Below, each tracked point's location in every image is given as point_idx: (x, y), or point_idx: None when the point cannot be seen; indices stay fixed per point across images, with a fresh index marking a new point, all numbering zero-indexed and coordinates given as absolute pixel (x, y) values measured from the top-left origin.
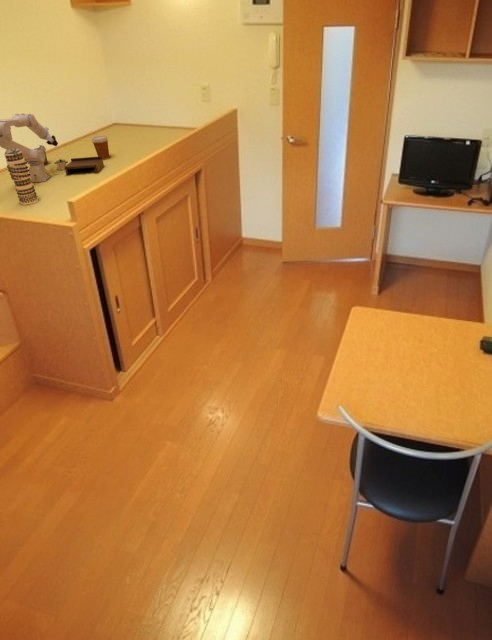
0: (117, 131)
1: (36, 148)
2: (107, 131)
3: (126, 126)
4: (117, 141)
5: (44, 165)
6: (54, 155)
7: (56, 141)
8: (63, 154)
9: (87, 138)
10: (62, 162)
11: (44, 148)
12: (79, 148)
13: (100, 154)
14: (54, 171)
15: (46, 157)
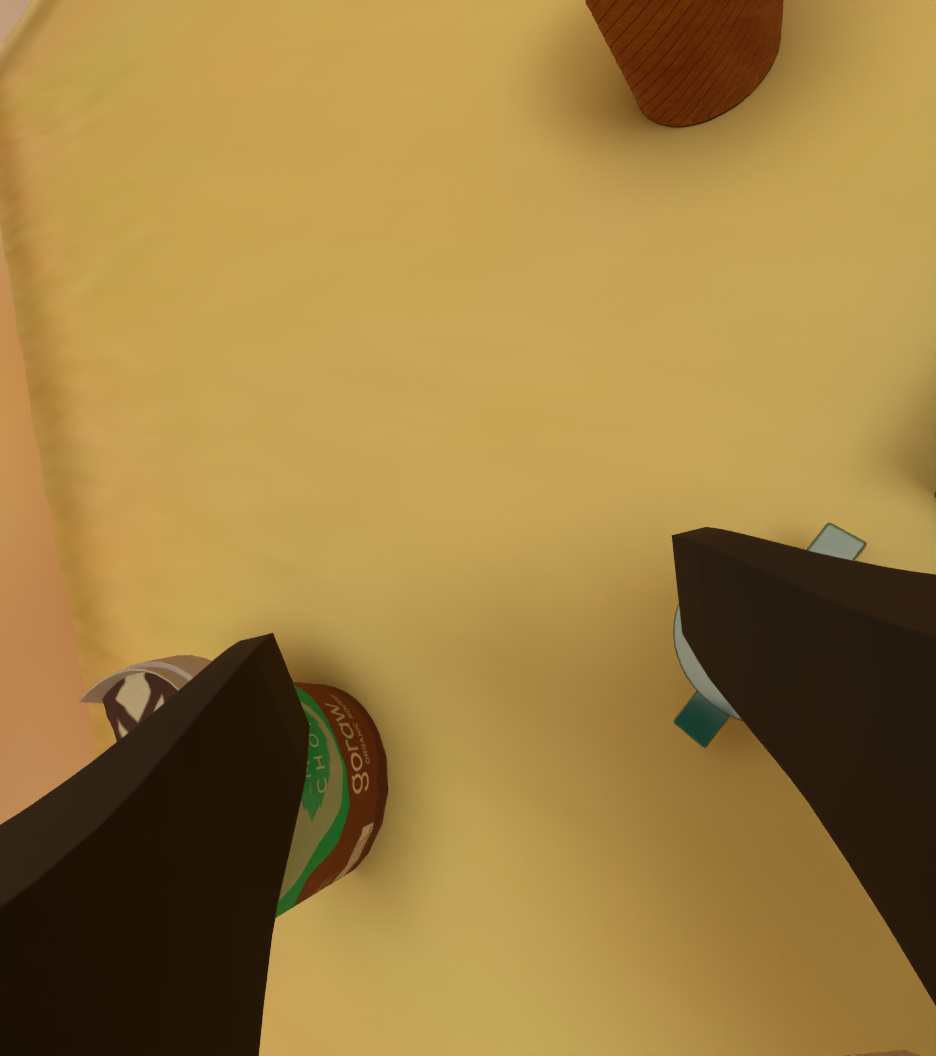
0: (82, 54)
1: None
2: (40, 117)
3: (53, 13)
4: (257, 16)
5: (385, 760)
6: (170, 536)
7: (823, 562)
8: (207, 460)
9: (47, 238)
10: None
11: None
12: (176, 309)
13: (758, 22)
14: None
15: (299, 692)
